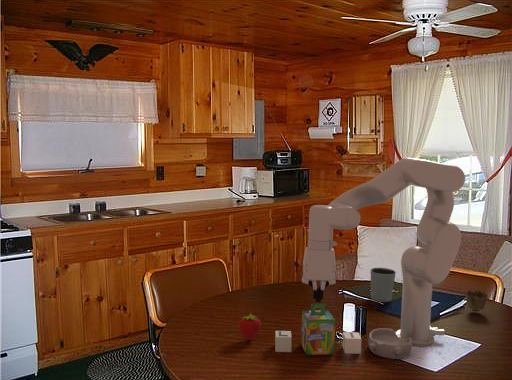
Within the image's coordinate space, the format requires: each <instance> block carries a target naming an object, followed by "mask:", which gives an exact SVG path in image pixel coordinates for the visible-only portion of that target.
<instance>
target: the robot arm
mask: <svg viewBox="0 0 512 380" xmlns="http://www.w3.org/2000/svg"><path fill="white" fill-rule="evenodd" d="M465 182H466V175H465V172H464V171H463V169H462V168H460V167H459V166H457V165H453V164H448V163H442V162H436V161H431V160H427V159H421V158H415V157H404V158H403V157H402V158H401V159H399V160H397V161H396V162H395V163H393V164H392V165H390V166H389V167H388V168H386V169H385V170H383V171H382V172H381V173H379V174H378V175H376V176H375V177H374V178H373V179H371V180H369V181H366V182H363V183H361V184H360V185H357V186H355V187H353V188H351V189H349V190H347V191H345V192H344V193H342V194H341V195H339V196H338V197H336V198H335V199H333V200H332V201H331V202H330V203H329V204H328V205H326V204H325V205H324V204H314V205H312V206H311V207H310V208H309V213H308V214H309V215H308V240H307V241H308V243H307V246H306V247H305V249H304V254H303V260H302V278H301V282H302V283H303V284H306V285H309V286H310V287H311V288H312V289H313V291H312V292H313V293H312V299H314V301H315V303H318V304H322V303H321V302H322V300H323V299H324V291H325V289H326V288H327V287H328V286H330V285H334V284H335V285H336V271H337V270H336V269H337V267H336V253H335V249H334V248H333V247H336V246H338V242H337V241H335V240H333V238H334V235H333V234H334V230H344V231H351V230H354V229H356V228H357V227H358V226H359V225H360V222H361V218H362V217H361V214H360V212H359V210H360V209H362V208H365V207H367V206H368V207H369V206H373V205H374V206H375V205H380V204H381V205H382V204H383V203H384V204H385V203H387V202H389V201H390V200H391V199H394V197H396V196H397V195H398V194H400V193H401V192H402V191H404V190H406V189H407V188H408V187H410V186H415V187H420V188H424V189H425V190H426V193H427V201H426V204H425V207H424V210H423V212H422V215H421V218H420V220H419V223H418V226H417V229H416V238H417V240H418V241H419V242H421V243H422V244H424V245H426V246H429V249H428V248H424V247H421V246H416V245H415V246H410V247H408V248H407V249H406V250H404V252H403V253H402V255H401V259H400V265H401V266H400V268H401V274H402V291H401V311H400V329H398V330H397V331H395V333H396V335H397V336H398V337H399V338H400V339H401V340H403V341H405V340H407V339H408V338H409V337H410V338H411V339H412V346H415V347H416V346H418V347H424V346H430V345H432V344H433V343H434V342H435V336H445V330H444V329H439V328H438V327H431V317H432V311H431V310H432V299H433V298H432V296H433V285H435V284H440V283H441V282H443V281H444V280H445V279H446V278H447V276H448V275H449V273H450V272H451V269H452V266H453V264H454V262H455V259H456V256H457V254H458V252H459V249H460V246H461V242H462V233H461V230H460V228H459V227H458V225H456V224H454V223H453V222H452V221H451V217H452V214H453V211H454V207H455V198H454V192H457V191H460V189H462V188H463V186H464V185H465ZM317 282H319V283H320V284H319V286H317Z"/></svg>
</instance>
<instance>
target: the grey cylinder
mask: <svg viewBox="0 0 512 380" xmlns="http://www.w3.org/2000/svg"><path fill="white" fill-rule="evenodd" d="M396 274H397V273H396V270H394V269H392V268H391V269H390V268H386V267H373V268H370V298H371V299H372V301H374V302H380V303H388V302H391V301H392V299H393V291H394V287H395V286H394V283H395V279H396Z"/></svg>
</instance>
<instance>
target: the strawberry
mask: <svg viewBox="0 0 512 380" xmlns="http://www.w3.org/2000/svg"><path fill="white" fill-rule="evenodd" d="M261 326H262V323H261V320H260V319H259V317H257V316H256V315H253V314H252V312H250V314H249V315H243V316H242V318H241V319H240V320H239V321H238V328H239V331H240V333H241V334H242V335H243V336H244V338H246V340H247V341H252V340H253V339H254V338H255V336H256V335H257V334H258V333H259V331H260V329H261Z"/></svg>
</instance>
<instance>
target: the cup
mask: <svg viewBox="0 0 512 380" xmlns="http://www.w3.org/2000/svg"><path fill="white" fill-rule="evenodd" d="M487 299H488V294H487V293H484V292H482V291H480V290H478V291H477V290H475V291H474V292H472V290H467V291H466V302H467V306H468V307H469V309H470V313H472V314H474V315H480V314H481V312H482V310H484V308H485V306H486V305H487Z"/></svg>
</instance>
